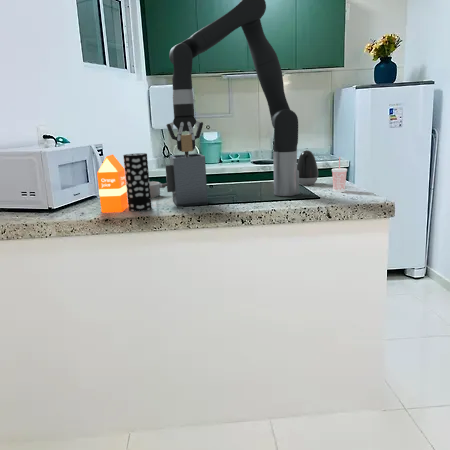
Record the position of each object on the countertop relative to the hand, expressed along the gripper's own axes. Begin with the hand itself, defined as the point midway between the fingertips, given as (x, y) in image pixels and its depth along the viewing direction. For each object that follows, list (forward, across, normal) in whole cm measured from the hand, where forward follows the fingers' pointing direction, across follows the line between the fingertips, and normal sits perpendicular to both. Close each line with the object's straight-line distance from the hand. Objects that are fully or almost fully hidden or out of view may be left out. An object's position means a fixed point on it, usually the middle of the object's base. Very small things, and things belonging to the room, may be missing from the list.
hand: (186, 150), depth 166 cm
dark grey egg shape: (+20, -56, -18) cm, 62 cm away
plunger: (+19, 0, 0) cm, 19 cm away
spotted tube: (+20, +19, +3) cm, 28 cm away
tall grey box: (+20, +1, 0) cm, 20 cm away
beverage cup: (+20, -61, +3) cm, 64 cm away
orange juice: (+20, +28, 0) cm, 35 cm away
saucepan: (+20, +10, -21) cm, 31 cm away
